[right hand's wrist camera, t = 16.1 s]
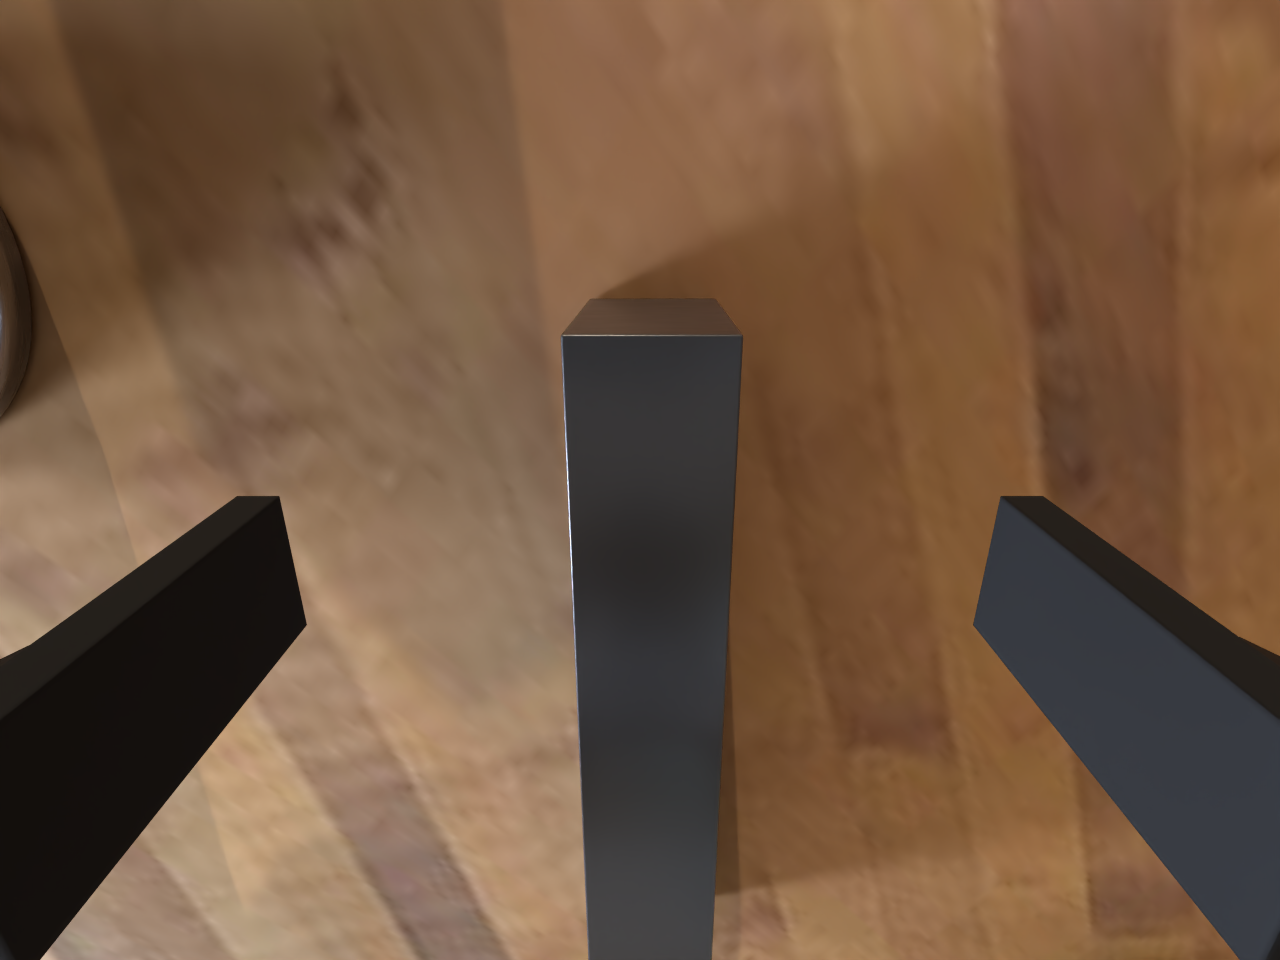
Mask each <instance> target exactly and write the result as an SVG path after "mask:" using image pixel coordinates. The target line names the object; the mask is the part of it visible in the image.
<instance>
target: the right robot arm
mask: <svg viewBox="0 0 1280 960" xmlns="http://www.w3.org/2000/svg"><path fill="white" fill-rule="evenodd" d="M31 326H32V318H31V305H30V296H29V290H28V284H27V278H26V275H25V271H24V267H23V263H22V260H21V256H20V253H19V250H18V247H17V245H16V242H15V239H14V236H13V233H12V231H11V229H10V227H9V225H8V222H7V220H6V218H5V216H4V213H3V211H2V209H1V207H0V417H1V415H2V414H3V413H4V412H5V410H6V409H7V408H8V406H9V405H10V403H11V401H12V400H13V398H14V396H15V395H16V393H17V391H18V389H19V386H20V384H21V381H22V379H23V376H24V373H25V369H26V366H27V362H28V358H29V351H30V344H31ZM306 625H307V624H306V619H305V614H304V610H303V605H302V600H301V596H300V591H299V586H298V582H297V577H296V572H295V567H294V563H293V558H292V553H291V549H290V544H289V539H288V535H287V530H286V525H285V521H284V516H283V511H282V507H281V502H280V497H279V496H237V497H235V498H234V499H233V500H231V501H230V502H228V503H227V504H226V505H224V506H223V507H221V508H220V509H219V510H217V511H216V512H214V513H213V514H212V515H210V516H209V517H208V518H206V519H205V520H203V521H202V522H201V523H199V524H198V525H196V526H195V527H194V528H192V529H191V530H189V531H188V532H187V533H185V534H184V535H182V536H181V537H180V538H178V539H177V540H176V541H174V542H173V543H171V544H170V545H169V546H167V547H166V548H164V549H163V550H162V551H160V552H159V553H157V554H156V555H155V556H153V557H152V558H150V559H149V560H148V561H146V562H145V563H144V564H142V565H141V566H139V567H138V568H137V569H135V570H134V571H132V572H131V573H130V574H128V575H127V576H125V577H124V578H123V579H121V580H120V581H119V582H117V583H116V584H114V585H113V586H112V587H110V588H109V589H107V590H106V591H105V592H103V593H102V594H100V595H99V596H98V597H96V598H95V599H93V600H92V601H91V602H89V603H88V604H87V605H85V606H84V607H82V608H81V609H80V610H78V611H77V612H75V613H74V614H73V615H71V616H70V617H68V618H67V619H66V620H64V621H63V622H61V623H60V624H59V625H57V626H56V627H55V628H53V629H52V630H50V631H49V632H48V633H46V634H45V635H43V636H42V637H41V638H39V639H38V640H36V641H35V642H34V643H32V644H31V645H29V646H27V647H25V648H23V649H21V650H19V651H16V652H14V653H12V654H10V655H8V656H6V657H4V658H2V659H0V960H40V959H41V958H42V957H43V955H44V954H45V953H46V952H47V950H48V949H49V948H50V947H51V945H52V944H53V943H54V942H55V940H56V939H57V938H58V937H59V935H60V934H61V933H62V932H63V930H64V929H65V928H66V927H67V925H68V924H69V923H70V922H71V920H72V919H73V918H74V917H75V915H76V914H77V913H78V912H79V910H80V909H81V908H82V906H83V905H84V904H85V903H86V901H87V900H88V899H89V898H90V896H91V895H92V894H93V893H94V891H95V890H96V889H97V888H98V886H99V885H100V884H101V883H102V881H103V880H104V879H105V878H106V876H107V875H108V874H109V873H110V871H111V870H112V869H113V868H114V866H115V865H116V864H117V863H118V861H119V860H120V859H121V858H122V856H123V855H124V854H125V853H126V851H127V850H128V849H129V847H130V846H131V845H132V844H133V842H134V841H135V840H136V839H137V837H138V836H139V835H140V834H141V832H142V831H143V830H144V829H145V827H146V826H147V825H148V824H149V822H150V821H151V820H152V819H153V817H154V816H155V815H156V814H157V812H158V811H159V810H160V809H161V807H162V806H163V805H164V804H165V802H166V801H167V800H168V799H169V797H170V796H171V795H172V793H173V792H174V791H175V790H176V788H177V787H178V786H179V785H180V783H181V782H182V781H183V780H184V778H185V777H186V776H187V775H188V773H189V772H190V771H191V770H192V768H193V767H194V766H195V765H196V763H197V762H198V761H199V760H200V758H201V757H202V756H203V755H204V753H205V752H206V751H207V750H208V748H209V747H210V746H211V745H212V743H213V742H214V741H215V740H216V738H217V737H218V736H219V734H220V733H221V732H222V731H223V729H224V728H225V727H226V726H227V724H228V723H229V722H230V721H231V719H232V718H233V717H234V716H235V714H236V713H237V712H238V711H239V709H240V708H241V707H242V706H243V704H244V703H245V702H246V701H247V699H248V698H249V697H250V696H251V694H252V693H253V692H254V691H255V689H256V688H257V687H258V686H259V684H260V683H261V682H262V680H263V679H264V678H265V677H266V675H267V674H268V673H269V672H270V670H271V669H272V668H273V667H274V665H275V664H276V663H277V662H278V660H279V659H280V658H281V657H282V655H283V654H284V653H285V652H286V650H287V649H288V648H289V647H290V645H291V644H292V643H293V642H294V640H295V639H296V638H297V637H298V635H299V634H300V633H301V632H302V630H303V629H304V628H305V627H306ZM973 625H974V627H975V628H976V629H977V630H978V632H979V633H980V634H981V635H982V637H983V638H984V639H985V640H986V642H987V643H988V644H989V645H990V647H991V648H992V649H993V650H994V652H995V653H996V654H997V655H998V657H999V658H1000V659H1001V660H1002V662H1003V663H1004V664H1005V665H1006V667H1007V668H1008V669H1009V670H1010V672H1011V673H1012V674H1013V675H1014V677H1015V678H1016V679H1017V680H1018V682H1019V683H1020V684H1021V686H1022V687H1023V688H1024V689H1025V691H1026V692H1027V693H1028V694H1029V696H1030V697H1031V698H1032V699H1033V701H1034V702H1035V703H1036V704H1037V706H1038V707H1039V708H1040V709H1041V711H1042V712H1043V713H1044V714H1045V716H1046V717H1047V718H1048V719H1049V721H1050V722H1051V723H1052V724H1053V726H1054V727H1055V728H1056V729H1057V731H1058V732H1059V733H1060V734H1061V736H1062V737H1063V738H1064V740H1065V741H1066V742H1067V743H1068V745H1069V746H1070V747H1071V748H1072V750H1073V751H1074V752H1075V753H1076V755H1077V756H1078V757H1079V758H1080V760H1081V761H1082V762H1083V763H1084V765H1085V766H1086V767H1087V768H1088V770H1089V771H1090V772H1091V773H1092V775H1093V776H1094V777H1095V778H1096V780H1097V781H1098V782H1099V783H1100V785H1101V786H1102V787H1103V788H1104V790H1105V791H1106V792H1107V794H1108V795H1109V796H1110V797H1111V799H1112V800H1113V801H1114V802H1115V804H1116V805H1117V806H1118V807H1119V809H1120V810H1121V811H1122V812H1123V814H1124V815H1125V816H1126V817H1127V819H1128V820H1129V821H1130V822H1131V824H1132V825H1133V826H1134V827H1135V829H1136V830H1137V831H1138V832H1139V834H1140V835H1141V836H1142V837H1143V839H1144V840H1145V841H1146V842H1147V844H1148V845H1149V846H1150V847H1151V849H1152V850H1153V851H1154V853H1155V854H1156V855H1157V856H1158V858H1159V859H1160V860H1161V861H1162V863H1163V864H1164V865H1165V866H1166V868H1167V869H1168V870H1169V871H1170V873H1171V874H1172V875H1173V876H1174V878H1175V879H1176V880H1177V881H1178V883H1179V884H1180V885H1181V886H1182V888H1183V889H1184V890H1185V891H1186V893H1187V894H1188V895H1189V896H1190V898H1191V899H1192V900H1193V901H1194V903H1195V904H1196V905H1197V907H1198V908H1199V909H1200V910H1201V912H1202V913H1203V914H1204V915H1205V917H1206V918H1207V919H1208V920H1209V922H1210V923H1211V924H1212V925H1213V927H1214V928H1215V929H1216V930H1217V932H1218V933H1219V934H1220V935H1221V937H1222V938H1223V939H1224V940H1225V942H1226V943H1227V944H1228V945H1229V947H1230V948H1231V949H1232V950H1233V952H1234V953H1235V954H1236V955H1237V957H1238V958H1239V959H1240V960H1280V656H1278V655H1276V654H1274V653H1272V652H1270V651H1268V650H1266V649H1264V648H1262V647H1259V646H1257V645H1255V644H1253V643H1251V642H1249V641H1247V640H1245V639H1243V638H1241V637H1238V636H1237V635H1235V634H1234V633H1232V632H1231V631H1230V630H1228V629H1227V628H1225V627H1224V626H1223V625H1221V624H1220V623H1219V622H1217V621H1216V620H1214V619H1213V618H1212V617H1210V616H1209V615H1207V614H1206V613H1205V612H1203V611H1202V610H1200V609H1199V608H1198V607H1196V606H1195V605H1193V604H1192V603H1191V602H1189V601H1188V600H1187V599H1185V598H1184V597H1182V596H1181V595H1180V594H1178V593H1177V592H1175V591H1174V590H1173V589H1171V588H1170V587H1168V586H1167V585H1166V584H1164V583H1163V582H1161V581H1160V580H1159V579H1157V578H1156V577H1155V576H1153V575H1152V574H1150V573H1149V572H1148V571H1146V570H1145V569H1143V568H1142V567H1141V566H1139V565H1138V564H1136V563H1135V562H1134V561H1132V560H1131V559H1130V558H1128V557H1127V556H1125V555H1124V554H1123V553H1121V552H1120V551H1118V550H1117V549H1116V548H1114V547H1113V546H1111V545H1110V544H1109V543H1107V542H1106V541H1104V540H1103V539H1102V538H1100V537H1099V536H1098V535H1096V534H1095V533H1093V532H1092V531H1091V530H1089V529H1088V528H1086V527H1085V526H1084V525H1082V524H1081V523H1079V522H1078V521H1077V520H1075V519H1074V518H1072V517H1071V516H1070V515H1068V514H1067V513H1066V512H1064V511H1063V510H1061V509H1060V508H1059V507H1057V506H1056V505H1054V504H1053V503H1052V502H1050V501H1049V500H1047V499H1046V498H1045V497H1043V496H1001V497H1000V502H999V507H998V511H997V516H996V521H995V525H994V530H993V535H992V539H991V544H990V549H989V553H988V558H987V563H986V567H985V572H984V577H983V582H982V586H981V591H980V596H979V600H978V605H977V610H976V614H975V619H974V624H973Z"/></svg>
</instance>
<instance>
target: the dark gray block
mask: <svg viewBox="0 0 1280 960" xmlns="http://www.w3.org/2000/svg"><path fill="white" fill-rule="evenodd" d="M742 348H743V335H742V334H741V332H740V331H739V330H738V328H737V327H736V326H735V324H734V323H733V322H732V320H731V319H730V318H729V316H728V315H727V314H726V312H725V311H724V310H723V308H722V307H721V306H720V304H719V303H718V302H717V300H716V299H590V300H589V301H588V302H587V304H586V305H585V306H584V307H583V309H582V310H581V311H580V312H579V314H578V315H577V316H576V317H575V319H574V320H573V321H572V322H571V324H570V325H569V326H568V327H567V329H566V330H565V331H564V332H563V334H562V335H561V351H562V374H563V396H564V419H565V441H566V464H567V486H568V509H569V531H570V554H571V576H572V599H573V621H574V644H575V666H576V689H577V711H578V734H579V756H580V779H581V801H582V824H583V846H584V869H585V891H586V914H587V936H588V959H589V960H712V943H713V923H714V903H715V883H716V863H717V844H718V824H719V804H720V784H721V764H722V744H723V725H724V705H725V685H726V665H727V645H728V626H729V606H730V586H731V566H732V546H733V527H734V507H735V487H736V467H737V447H738V427H739V408H740V388H741V368H742Z"/></svg>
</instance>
